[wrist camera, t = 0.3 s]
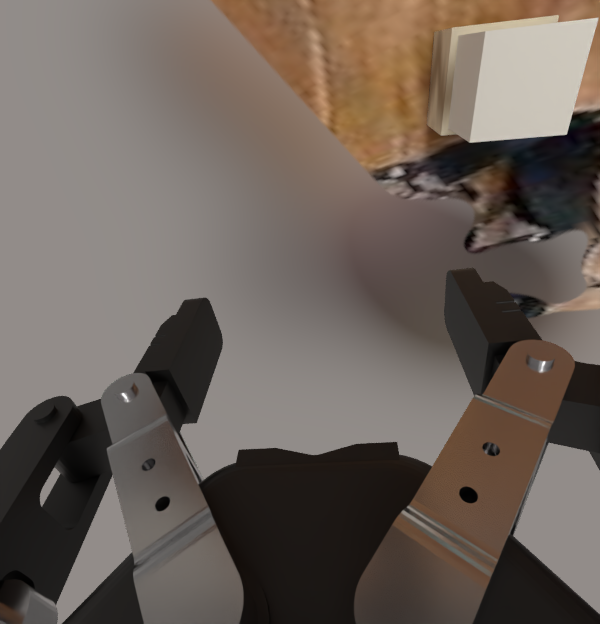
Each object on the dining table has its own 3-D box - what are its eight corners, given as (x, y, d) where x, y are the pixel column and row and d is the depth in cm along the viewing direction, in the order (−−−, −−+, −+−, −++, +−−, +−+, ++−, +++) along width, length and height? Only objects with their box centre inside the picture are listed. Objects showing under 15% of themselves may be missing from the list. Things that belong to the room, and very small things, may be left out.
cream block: (458, 35, 27) (485, 31, 22) (548, 24, 26) (598, 17, 21) (448, 128, 30) (469, 142, 25) (528, 121, 29) (566, 134, 24)
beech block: (434, 32, 31) (452, 27, 26) (523, 21, 31) (559, 15, 26) (426, 124, 35) (440, 135, 30) (505, 117, 34) (533, 127, 30)
